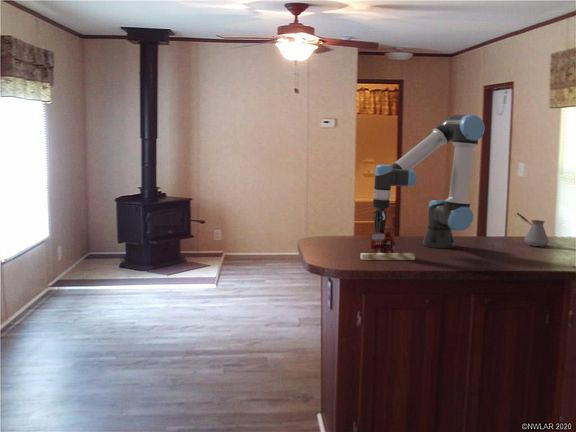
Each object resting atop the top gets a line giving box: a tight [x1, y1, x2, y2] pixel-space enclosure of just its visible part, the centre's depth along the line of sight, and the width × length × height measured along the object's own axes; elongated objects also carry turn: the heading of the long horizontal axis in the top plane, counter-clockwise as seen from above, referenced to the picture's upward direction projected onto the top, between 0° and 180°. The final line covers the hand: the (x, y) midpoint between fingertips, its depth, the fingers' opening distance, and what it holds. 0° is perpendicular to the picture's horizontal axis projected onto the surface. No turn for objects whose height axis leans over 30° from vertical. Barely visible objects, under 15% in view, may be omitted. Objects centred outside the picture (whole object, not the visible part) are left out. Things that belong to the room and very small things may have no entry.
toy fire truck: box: [369, 231, 396, 253], centre depth 270 cm, size 7×12×10 cm, turn 103°
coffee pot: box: [514, 212, 549, 247], centre depth 308 cm, size 21×12×15 cm, turn 21°
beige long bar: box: [359, 252, 416, 261], centre depth 263 cm, size 24×3×3 cm, turn 98°
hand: (377, 249), depth 275 cm, fingers closed
